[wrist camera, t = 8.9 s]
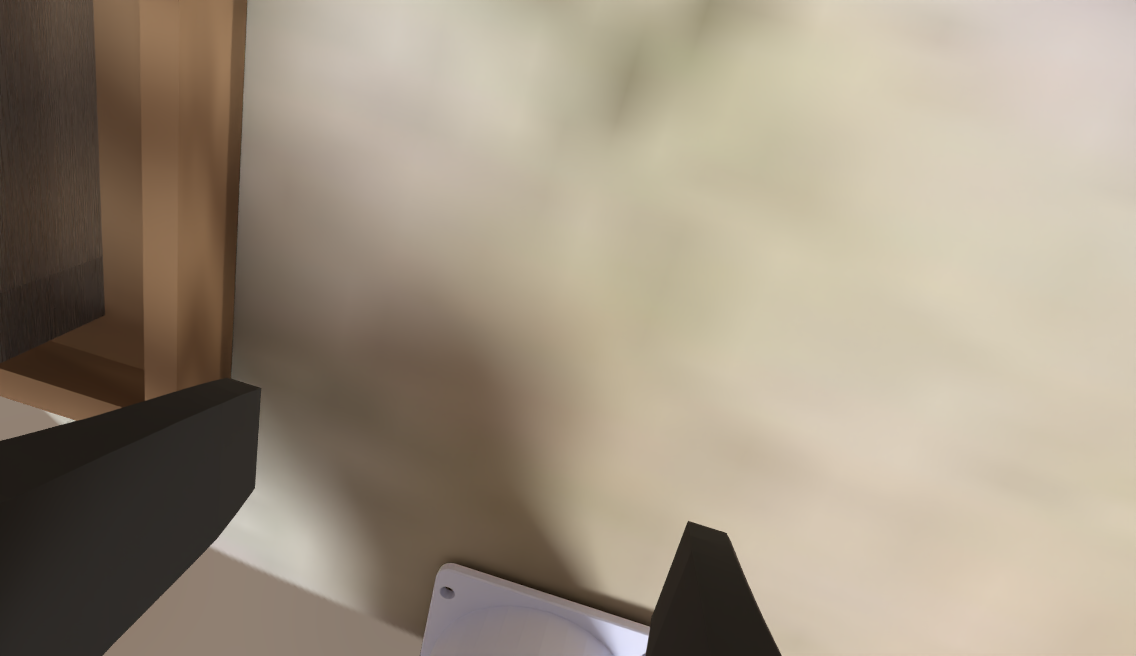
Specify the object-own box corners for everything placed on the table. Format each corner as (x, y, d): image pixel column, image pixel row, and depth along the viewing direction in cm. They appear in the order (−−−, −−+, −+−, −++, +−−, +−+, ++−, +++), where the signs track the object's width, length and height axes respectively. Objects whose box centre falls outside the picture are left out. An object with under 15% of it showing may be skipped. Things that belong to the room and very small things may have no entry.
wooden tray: (229, 411, 24) (175, 452, 21) (-41, 326, 25) (-121, 357, 22) (258, -249, 17) (181, -297, 14) (-127, -340, 17) (-260, -399, 15)
